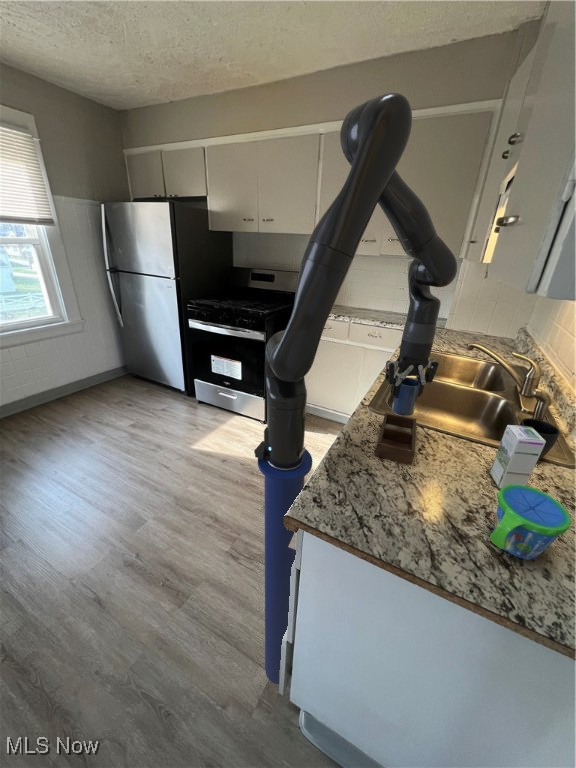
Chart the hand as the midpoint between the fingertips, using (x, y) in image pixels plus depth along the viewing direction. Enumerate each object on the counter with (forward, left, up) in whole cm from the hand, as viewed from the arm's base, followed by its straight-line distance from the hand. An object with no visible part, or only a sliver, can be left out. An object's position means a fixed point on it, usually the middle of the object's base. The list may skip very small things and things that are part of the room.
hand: (405, 395), depth 87 cm
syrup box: (+26, -10, -13) cm, 31 cm away
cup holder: (0, -4, -13) cm, 14 cm away
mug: (+32, +4, -13) cm, 35 cm away
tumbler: (0, 0, -5) cm, 5 cm away
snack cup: (+24, -29, -13) cm, 40 cm away
